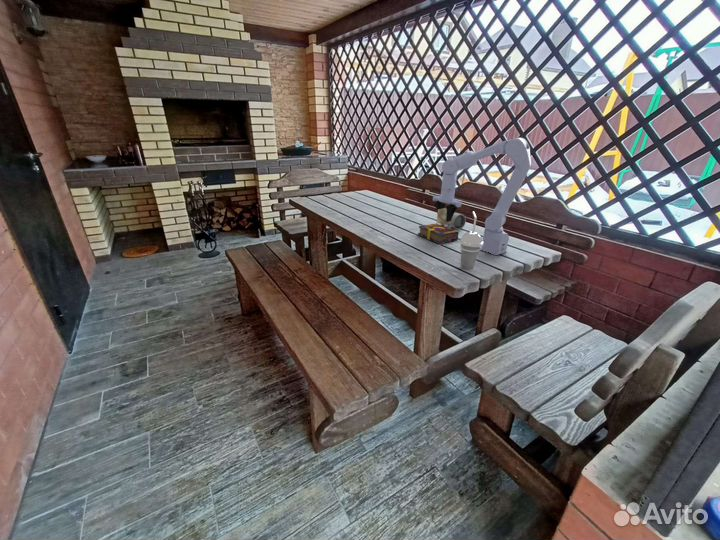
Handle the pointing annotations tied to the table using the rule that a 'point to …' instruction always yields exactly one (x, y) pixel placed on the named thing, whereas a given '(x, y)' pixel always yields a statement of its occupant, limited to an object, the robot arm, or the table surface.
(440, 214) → the birch block
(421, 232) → the decorative book
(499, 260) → the table surface
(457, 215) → the ceramic mug
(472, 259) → the cup with straw
